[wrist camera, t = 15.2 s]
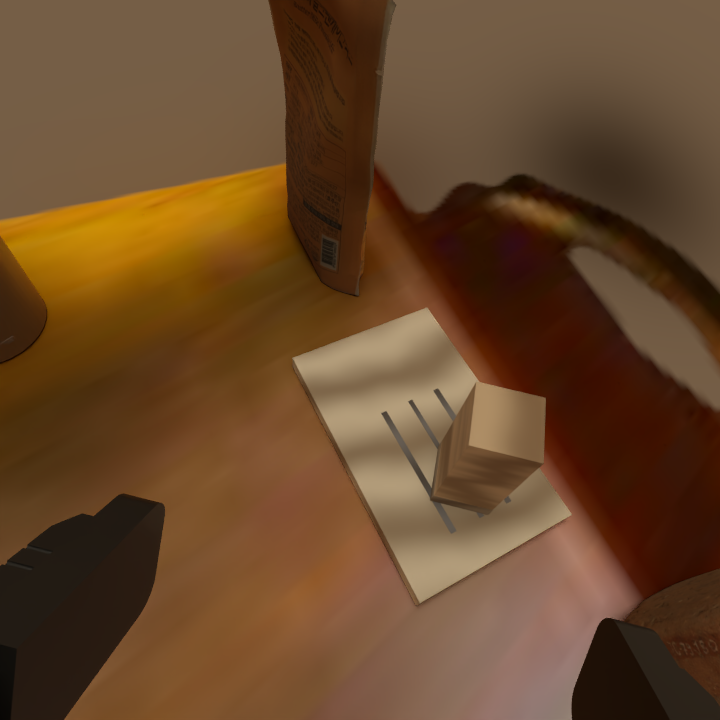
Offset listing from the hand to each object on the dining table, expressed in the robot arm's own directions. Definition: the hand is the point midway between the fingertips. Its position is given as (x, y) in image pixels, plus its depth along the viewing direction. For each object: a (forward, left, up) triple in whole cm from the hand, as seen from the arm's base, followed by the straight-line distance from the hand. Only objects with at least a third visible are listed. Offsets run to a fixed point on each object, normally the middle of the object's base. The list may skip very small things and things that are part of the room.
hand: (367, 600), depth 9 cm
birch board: (-11, +15, -31) cm, 36 cm away
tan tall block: (-6, +15, -29) cm, 33 cm away
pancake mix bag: (-35, +16, -31) cm, 49 cm away
